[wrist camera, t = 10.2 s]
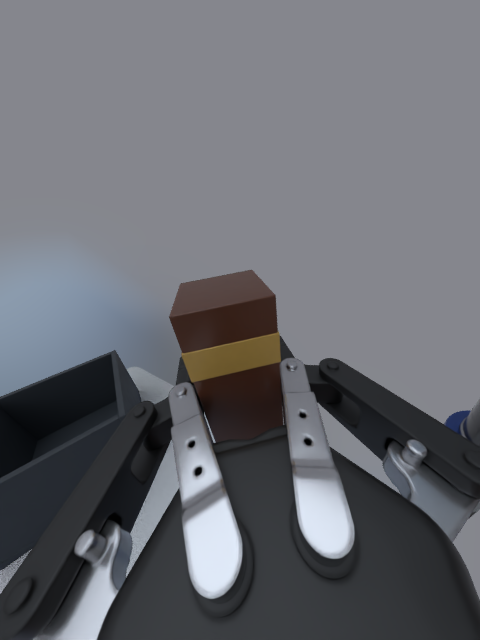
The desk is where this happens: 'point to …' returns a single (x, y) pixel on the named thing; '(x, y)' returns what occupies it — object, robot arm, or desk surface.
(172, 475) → the desk surface
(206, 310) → the chocolate box
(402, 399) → the robot arm
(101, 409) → the waste bin
